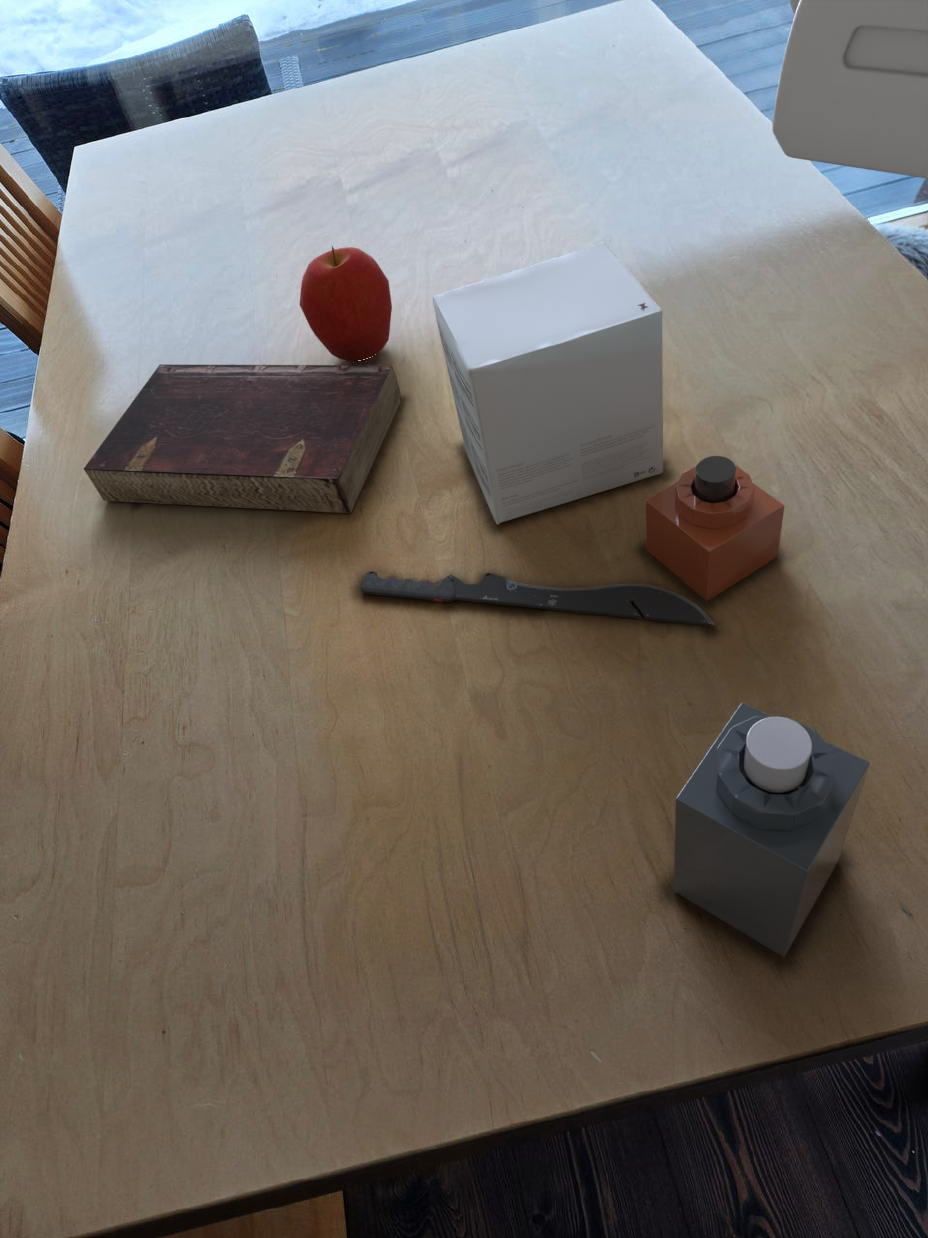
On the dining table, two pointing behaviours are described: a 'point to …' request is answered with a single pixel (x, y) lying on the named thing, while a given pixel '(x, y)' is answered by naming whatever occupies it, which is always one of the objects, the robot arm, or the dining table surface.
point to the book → (249, 436)
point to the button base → (713, 533)
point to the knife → (548, 597)
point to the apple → (347, 303)
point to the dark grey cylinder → (715, 479)
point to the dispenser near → (762, 835)
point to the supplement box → (555, 380)
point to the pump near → (777, 754)
